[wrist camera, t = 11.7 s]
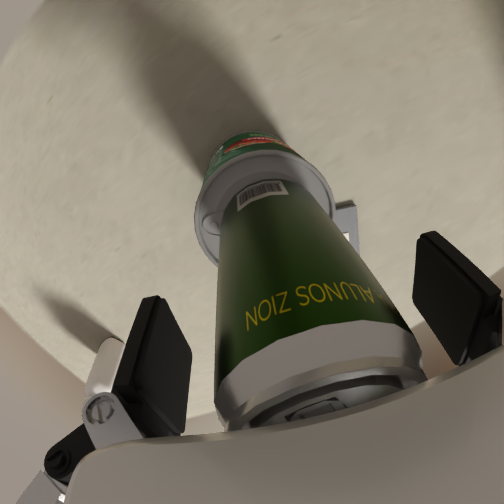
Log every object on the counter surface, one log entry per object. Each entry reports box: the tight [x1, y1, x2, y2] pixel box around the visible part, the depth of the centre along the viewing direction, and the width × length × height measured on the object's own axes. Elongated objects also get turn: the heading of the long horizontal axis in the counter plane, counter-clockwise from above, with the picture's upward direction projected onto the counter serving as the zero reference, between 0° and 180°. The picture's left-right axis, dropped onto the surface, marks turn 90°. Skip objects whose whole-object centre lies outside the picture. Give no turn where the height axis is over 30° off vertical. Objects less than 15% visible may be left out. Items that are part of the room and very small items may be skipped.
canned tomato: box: [194, 131, 336, 267], centre depth 21 cm, size 8×8×11 cm
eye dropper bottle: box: [82, 338, 125, 410], centre depth 30 cm, size 4×6×12 cm
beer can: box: [214, 179, 427, 432], centre depth 11 cm, size 5×5×12 cm
